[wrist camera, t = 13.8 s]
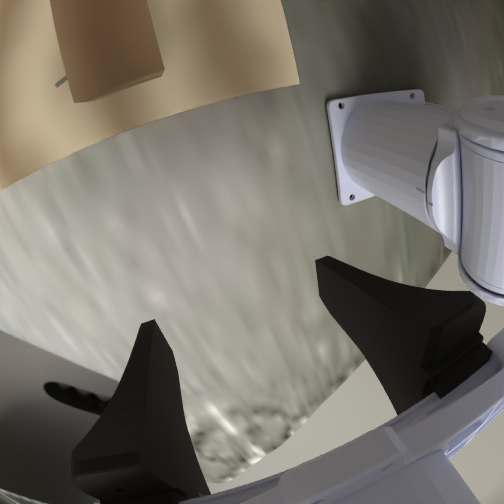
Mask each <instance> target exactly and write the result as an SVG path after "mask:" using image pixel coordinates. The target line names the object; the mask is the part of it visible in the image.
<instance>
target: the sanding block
mask: <svg viewBox="0 0 504 504" xmlns="http://www.w3.org/2000/svg"><path fill="white" fill-rule="evenodd" d="M50 5H51V10H52V16H53V21H54V26H55V31H56V35H57V40H58V44H59V49H60V53H61V57H62V61H63V65H64V69H65V73H66V76H67V80H68V84H69V87H70V91H71V94H72V98H73V101H74V103H81V102H93V101H96V100H99V99H101V98H104V97H106V96H109V95H111V94H114V93H116V92H119V91H122V90H124V89H127V88H130V87H133V86H135V85H138V84H141V83H144V82H147V81H150V80H153V79H156V78H160V77H162V74H163V72H164V70H165V68H164V65H163V61H162V57H161V53H160V50H159V46H158V42H157V38H156V34H155V30H154V26H153V22H152V18H151V14H150V10H149V6H148V2H147V0H50Z"/></svg>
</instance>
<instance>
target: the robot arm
mask: <svg viewBox="0 0 504 504" xmlns="http://www.w3.org/2000/svg"><path fill="white" fill-rule="evenodd" d="M410 95H411V97H410ZM339 103H341V105H342V107H341V108H340V109H339V107H338V104H339ZM327 113H328V119H329V126H330V132H331V139H332V146H333V154H334V161H335V169H336V177H337V186H338V195H339V202H340V203H341V204H343V205H349V204H352V203H355V202H358V201H361V200H364V199H367V198H370V197H373V196H378V197H380V198H382V199H383V200H385V201H387V202H389V203H391V204H392V205H394V206H396V207H398V208H399V209H401V210H403V211H405V212H406V213H408V214H410V215H411V216H413V217H415V218H416V219H418V220H420V221H421V222H423V223H425V224H426V225H428V226H430V227H431V228H433V229H435V230H436V231H438V232H439V233H441V235H442V236H443V238H444V245H445V246H446V247H447V248H449V249H450V250H452V251H453V252H455V253H456V254H458V269H459V272H460V275H461V278H462V280H463V281H464V283H465V284H466V285H467V287H468V288H469V289H470V290H471V291H472V292H473V293H472V292H471V291H442V290H432V289H425V288H419V287H414V286H409V285H405V284H401V283H397V282H393V281H390V280H387V279H384V278H381V277H378V276H375V275H373V274H370V273H367V272H365V271H362V270H360V269H358V268H355V267H353V266H351V265H348V264H346V263H344V262H342V261H339V260H337V259H335V258H332V257H330V256H325V257H323V258H320V259H317V260H315V263H316V271H317V280H318V288H319V296H320V298H321V300H322V301H323V303H324V305H325V306H326V308H327V309H328V311H329V312H330V314H331V315H332V316H333V318H334V319H335V320H336V321H337V322H338V324H339V325H340V326H341V327H342V329H343V330H344V331H345V332H346V333H347V335H348V336H349V337H350V338H351V339H352V341H353V342H354V343H355V344H356V345H357V347H358V348H359V349H360V351H361V352H362V353H363V355H364V356H365V358H366V360H367V361H368V363H369V364H370V366H371V367H372V369H373V371H374V372H375V374H376V376H377V377H378V379H379V381H380V382H381V384H382V386H383V388H384V390H385V392H386V393H387V395H388V397H389V399H390V401H391V403H392V405H393V407H394V409H395V411H396V413H397V415H398V416H396V417H395V418H393V419H391V420H390V421H388V422H386V423H384V424H383V425H381V426H379V427H377V428H376V429H374V430H371V431H369V432H367V433H365V434H363V435H362V436H360V437H358V438H356V439H354V440H352V441H350V442H348V443H346V444H344V445H342V446H340V447H338V448H336V449H334V450H331V451H329V452H327V453H325V454H323V455H320V456H318V457H316V458H314V459H312V460H309V461H307V462H304V463H302V464H300V465H298V466H296V467H294V468H291V469H289V470H286V471H284V472H281V473H278V474H275V475H273V476H270V477H267V478H264V479H261V480H259V481H255V482H252V483H249V484H246V485H243V486H240V487H236V488H233V489H229V490H226V491H222V492H218V493H215V494H211V493H210V491H209V488H208V486H207V484H206V481H205V479H204V476H203V473H202V471H201V468H200V465H199V463H198V460H197V457H196V454H195V451H194V448H193V445H192V442H191V439H190V435H189V432H188V428H187V425H186V421H185V416H184V410H183V403H182V397H181V390H180V383H179V376H178V370H177V366H176V362H175V358H174V354H173V351H172V349H171V347H170V346H169V344H168V342H167V341H166V339H165V337H164V335H163V334H162V332H161V330H160V328H159V326H158V325H157V323H156V321H155V319H154V320H151V321H148V322H145V323H142V324H141V326H140V328H139V331H138V334H137V338H136V341H135V344H134V347H133V350H132V352H131V355H130V358H129V361H128V363H127V366H126V368H125V371H124V373H123V376H122V378H121V380H120V383H119V385H118V387H117V389H116V391H115V393H114V395H113V397H112V398H111V400H110V402H109V403H108V405H107V407H106V408H105V410H104V411H103V413H102V415H101V416H100V418H99V419H98V420H97V422H96V423H95V425H94V426H93V427H92V429H91V430H90V431H89V432H88V434H87V435H86V436H85V437H84V438H83V439H82V441H81V442H80V443H79V444H78V445H77V446H76V447H75V448H74V449H73V450H72V457H71V473H72V474H71V476H72V483H73V484H74V485H75V486H76V487H77V488H78V489H80V490H81V491H83V492H85V493H87V494H89V495H90V496H93V497H94V498H96V499H98V500H100V504H480V502H479V501H478V500H477V498H476V497H475V495H474V494H473V493H472V491H471V490H470V488H469V487H468V486H467V484H466V483H465V482H464V480H463V479H462V477H461V476H460V474H459V473H458V472H457V470H456V469H455V468H454V466H453V465H452V463H451V462H450V461H449V458H451V457H452V456H453V455H454V454H456V453H457V452H458V451H459V450H460V449H462V448H463V447H464V446H465V445H466V444H467V443H469V442H470V441H471V440H472V439H473V438H474V437H475V436H476V435H477V434H478V433H480V432H481V431H482V430H483V429H484V428H485V427H486V426H487V425H488V424H489V423H490V422H491V421H492V420H493V419H494V418H495V417H496V416H497V415H498V414H499V413H500V412H501V411H502V410H503V409H504V328H503V329H502V330H501V331H500V332H499V333H498V334H497V335H495V336H494V337H493V338H492V339H491V340H490V341H489V342H488V344H487V345H485V344H484V343H483V342H482V341H483V336H482V335H481V334H480V333H479V330H480V328H481V325H482V322H483V319H484V316H485V312H486V305H485V303H484V302H483V301H482V300H481V299H480V298H482V299H484V300H486V301H488V302H491V303H494V304H497V305H502V306H504V95H489V96H480V97H476V98H472V99H470V100H468V101H466V102H465V103H464V105H463V106H462V107H460V108H455V107H450V106H445V105H440V104H435V103H430V102H425V98H424V93H423V91H422V90H419V89H413V90H402V91H392V92H383V93H374V94H366V95H359V96H352V97H345V98H339V99H333V100H330V101H329V102H328V103H327ZM351 195H352V198H351V199H349V198H350V196H351ZM474 293H475V294H476V295H478V296H479V297H480V298H479V297H477V296H476V295H475V294H474Z"/></svg>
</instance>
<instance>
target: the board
mask: <svg viewBox="0 0 504 504" xmlns="http://www.w3.org/2000/svg"><path fill="white" fill-rule="evenodd" d="M147 2H148V6H149V10H150V14H151V18H152V22H153V26H154V30H155V34H156V38H157V42H158V46H159V50H160V53H161V57H162V61H163V65H164V68H165V70H164V72H163V74H162V77H160V78H156V79H153V80H150V81H147V82H144V83H141V84H138V85H135V86H133V87H130V88H127V89H124V90H122V91H119V92H116V93H114V94H111V95H109V96H106V97H104V98H101V99H99V100H96V101H93V102H81V103H74V101H73V98H72V94H71V91H70V87H69V84H68V80H67V76H66V73H65V69H64V65H63V61H62V57H61V53H60V49H59V44H58V40H57V35H56V31H55V26H54V21H53V16H52V10H51V5H50V0H0V191H1V190H2V189H4V188H6V187H8V186H9V185H11V184H13V183H15V182H17V181H18V180H20V179H22V178H24V177H26V176H28V175H29V174H31V173H33V172H35V171H37V170H39V169H41V168H43V167H45V166H47V165H49V164H51V163H53V162H55V161H57V160H59V159H61V158H64V157H66V156H68V155H70V154H72V153H74V152H77V151H79V150H81V149H83V148H86V147H88V146H90V145H93V144H95V143H97V142H100V141H102V140H105V139H107V138H109V137H112V136H115V135H117V134H120V133H122V132H125V131H127V130H130V129H133V128H136V127H138V126H141V125H144V124H147V123H150V122H152V121H155V120H158V119H161V118H164V117H167V116H171V115H174V114H177V113H180V112H183V111H187V110H190V109H193V108H197V107H200V106H204V105H207V104H211V103H215V102H219V101H222V100H226V99H230V98H234V97H238V96H243V95H247V94H251V93H256V92H260V91H265V90H270V89H275V88H280V87H286V86H291V85H297V84H300V82H299V77H298V72H297V67H296V62H295V58H294V53H293V49H292V44H291V40H290V36H289V32H288V27H287V23H286V19H285V15H284V11H283V7H282V3H281V0H147Z"/></svg>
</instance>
